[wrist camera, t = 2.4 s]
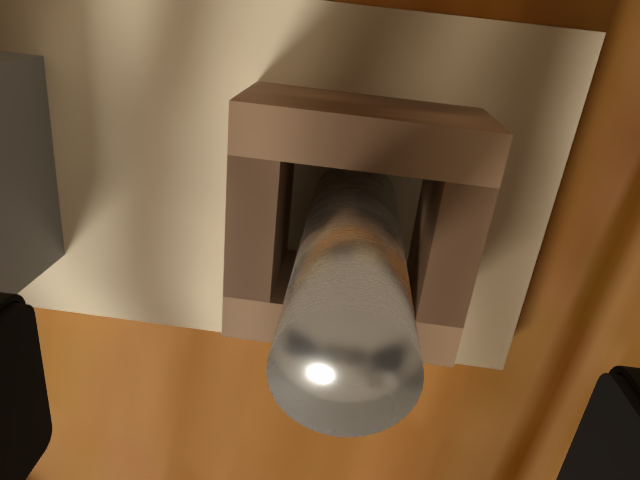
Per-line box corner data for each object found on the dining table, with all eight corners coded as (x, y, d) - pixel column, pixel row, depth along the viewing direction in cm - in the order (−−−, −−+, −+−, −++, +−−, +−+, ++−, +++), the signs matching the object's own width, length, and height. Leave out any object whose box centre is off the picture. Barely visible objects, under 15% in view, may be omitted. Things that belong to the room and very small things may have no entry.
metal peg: (402, 166, 18) (437, 321, 9) (388, 243, 20) (409, 446, 11) (317, 155, 19) (271, 299, 9) (309, 233, 20) (262, 426, 11)
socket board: (587, 30, 18) (675, 39, 13) (494, 348, 23) (530, 443, 18) (-213, -61, 18) (-428, -86, 13) (-123, 266, 24) (-254, 334, 19)
